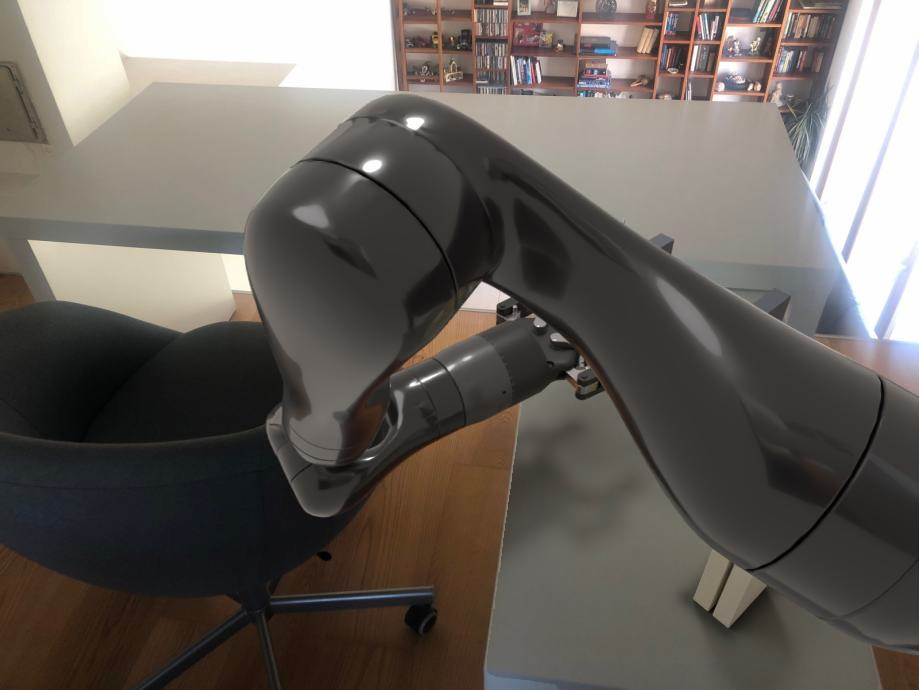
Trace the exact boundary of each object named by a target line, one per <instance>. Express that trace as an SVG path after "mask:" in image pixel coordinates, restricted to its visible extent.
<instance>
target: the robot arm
mask: <svg viewBox="0 0 919 690" xmlns="http://www.w3.org/2000/svg"><path fill="white" fill-rule="evenodd" d="M649 240H650V239H647V238H646V237H645V236H643V235H641V234H640V233H638V232H637V231H635V230H634V229H632V228H631V227H629V226H628V225H627V224H626V223H625V224H624V223H623V221H620V220H619V219H618V218H617V217H615V216H613V215H612V214H611V213H609V212H608V211H606V210H605V209H604V208H602V207H601V206H600V205H598V204H597V203H595V202H594V201H592V200H591V199H589V197H586V195H584V194H583V193H581V192H580V191H578V190H577V189H576V188H575V187H573V186H571V185H570V184H568V183H567V182H565V180H563V179H561V178H560V177H559V176H558V175H556V174H555V173H554V172H552V171H550V170H549V169H548V168H546V167H545V166H544V165H542V164H540V163H539V162H538V161H536V160H535V159H533V158H532V157H531V156H529V155H528V154H527V153H525V152H524V151H522V150H521V149H519V148H518V147H517V146H515V145H514V144H512V143H511V142H510V141H508V140H507V139H505V138H504V137H503V136H502V135H499V134H498V133H496V132H494V131H493V130H491V129H490V128H488V127H487V126H485V125H484V124H483V123H480V122H479V121H477V120H476V119H474V118H472V117H471V116H469V115H467V114H465V113H463V112H462V111H460V110H458V109H456V108H454V107H452V106H450V105H448V104H445V103H443V102H441V101H438V100H437V99H436V100H435V99H432V98H429V97H424V96H421V95H418V94H414V93H389V94H385V95H381V96H379V97H377V98H374V99H372V100H371V101H369V102H368V103H365V104H364V105H362V106H360V107H359V108H357V110H355V111H354V112H352V113H351V114H350V115H349V116H347V117H346V118H345V119H343V120H342V121H341V122H340V123H339V124H338V125H337V126H336V128H334V129H332V131H330V133H328V134H327V135H326V136H325V137H324V138H322V139H321V140H320V141H319V142H318V143H316V145H314V146H313V147H312V148H311V149H309V151H308V152H307V153H305V154H304V155H303V156H301V158H300V159H298V160H297V161H296V162H295V163H294V164H293V165H292V166H289V167H288V168H287V169H286V170H285V171H284V172H283V173H282V174H281V175H280V176H278V177H277V178H276V179H275V180H274V181H272V183H271V184H270V185H269V186H268V187H267V188H266V189H265V190H264V192H263V193H262V194H261V195H260V196H259V198H258V199H257V200H256V202H255V203H254V205H253V206H252V208H251V209H250V211H249V213H248V215H247V218H246V222H245V225H244V230H243V238H242V245H243V249H242V250H243V258H244V259H243V260H244V266H245V267H244V268H245V272H246V276H247V281H248V285H249V289H250V291H251V295H252V298H253V301H254V304H255V307H256V310H257V313H258V315H259V319H260V321H261V324H262V328H263V330H264V333H265V336H266V339H267V342H268V345H269V347H270V350H271V353H272V356H273V358H274V361H275V363H276V365H277V368H278V370H279V374H280V376H281V378H282V382H283V391H282V400H281V402H279V403H278V404H277V405H275V406H274V407H273V408H272V409H271V411H270V412H268V414H267V416H266V418H265V422H264V423H265V424H264V426H265V433H266V435H267V440H268V443H269V445H270V447H271V450H272V451H273V453H274V455H275V456H276V457H275V458H277V461H278V463H279V465H280V467H281V469H282V471H283V473H284V475H285V478H286V479H287V482H288V483H289V485H290V488H291V490H292V492H293V494H294V497H295V499H296V500H297V502H298V505H300V507H301V508H302V510H303V511H304V512H305V513H306V514H309V515H311V516H314V517H319V518H332V517H337V516H340V515H343V514H346V513H347V512H348V511H350V510H352V509H353V508H354V507H356V506H357V505H358V504H359V503H360V502H362V501H363V500H364V499H365V498H366V497H367V496H368V495H369V494H370V493H371V492H372V491H373V490H374V489H375V488H377V487H378V486H379V485H380V484H381V483H382V482H383V481H384V480H385V479H386V478H387V477H388V476H389V475H390V474H392V472H394V470H396V469H397V468H398V467H400V466H401V465H402V464H403V463H405V462H406V461H407V460H409V459H410V458H411V457H412V456H415V454H418V453H419V452H420V451H421V450H423V449H425V448H427V447H428V446H430V445H433V444H434V443H436V442H438V441H440V440H443V439H445V438H446V437H448V436H450V435H452V434H454V433H457V432H458V431H460V430H462V429H465V428H467V427H469V426H472V425H476V424H479V423H482V422H484V421H486V420H489V419H491V418H493V417H494V416H497V415H499V414H501V413H502V412H504V411H507V410H508V409H510V408H513V407H514V406H516V405H519V404H520V403H522V402H525V400H526V401H527V400H529V399H530V398H533V397H534V396H536V395H539V394H540V393H542V392H543V391H544V390H545V389H547V387H548V386H549V385H550V384H552V383H554V382H558V381H565V380H566V381H567V382H568V383H569V384H570V385H571V386H572V387H573V388H574V389H575V392H574V398H575V399H577V400H579V401H585V400H588V399H590V398H591V397H594V396H596V395H599V394H601V393H603V392H606V394H607V396H608V397H609V399H610V400H611V402H612V404H613V406H614V407H615V409H616V411H617V413H618V415H619V417H620V419H621V420H622V422H623V424H624V425H625V427H626V429H627V431H628V433H629V434H630V436H631V438H632V440H633V442H634V444H635V446H636V447H637V449H638V451H639V454H640V455H641V457H642V458H643V460H644V462H645V463H646V465H647V467H648V468H649V470H650V472H651V473H652V475H653V477H654V479H655V480H656V482H657V484H658V485H659V487H660V488H661V490H662V492H663V493H664V495H665V496H666V498H667V499H668V500H669V502H670V504H671V505H672V506H673V509H674V510H675V511H676V512H677V513H678V515H679V516H680V518H681V519H682V520H683V521H684V523H685V524H686V525H687V526H688V527H689V528H690V530H692V531H693V533H694V534H695V535H696V536H697V537H698V538H699V539H701V540H702V541H703V542H704V543H705V544H706V545H707V546H708V547H710V548H711V550H712V549H714V550H715V551H716V552H718V553H719V554H721V555H722V556H723V557H725V558H726V559H728V560H729V561H731V562H732V563H733V564H735V565H736V566H738V567H739V568H741V569H743V570H744V571H746V572H748V573H749V574H751V575H752V576H754V577H755V578H757V579H758V580H760V581H762V582H763V583H765V584H766V585H767V586H768V587H770V588H771V589H773V590H774V591H776V592H777V593H778V594H780V595H782V596H783V597H785V598H786V599H788V600H790V601H791V602H793V603H794V604H796V605H797V606H799V607H800V608H802V609H804V610H805V611H806V612H808V613H810V614H811V615H813V616H814V617H815V618H817V619H818V620H821V621H822V622H824V623H826V624H828V625H829V626H830V627H831V628H834V629H836V630H837V631H840V632H841V633H843V634H844V635H846V636H848V637H850V638H852V639H855V640H857V641H858V642H862V644H863V643H864V644H867V645H870V646H873V647H877V648H880V649H884V650H888V651H892V652H898V653H902V654H906V655H913V656H919V395H917V394H915V393H913V392H912V391H910V390H908V389H907V388H905V387H903V386H901V385H899V384H898V383H895V382H894V381H893V380H891V379H889V378H887V377H886V376H883V375H882V374H880V373H878V372H876V371H875V370H873V369H872V368H870V367H868V366H866V365H864V364H862V363H860V362H858V361H856V360H854V359H853V358H850V357H849V356H848V355H845V354H843V353H841V352H839V351H837V350H835V349H833V348H831V347H829V346H827V345H825V344H824V343H821V342H820V341H818V340H816V339H814V338H812V337H810V336H808V335H807V334H805V333H803V332H801V331H800V330H798V329H796V328H794V327H792V326H790V325H789V324H787V323H785V322H783V320H782V321H780V320H778V319H777V318H775V317H773V316H772V315H770V314H768V313H767V312H765V311H763V310H762V309H760V308H758V307H757V306H755V305H753V303H751V301H748V300H747V299H745V298H744V297H742V296H740V295H739V294H737V293H735V292H734V291H732V290H731V289H729V288H727V287H726V286H724V285H722V284H720V283H719V282H717V281H716V280H714V279H713V278H711V277H709V276H707V275H706V274H704V273H702V272H701V271H699V270H697V269H696V268H694V267H693V266H691V265H689V264H687V263H686V262H684V261H682V260H681V259H679V258H677V257H676V256H674V255H673V254H672V253H671V254H669V253H668V252H666V251H665V250H663V249H661V248H660V247H658V246H657V245H655V244H653V243H652V242H650V241H649ZM481 283H484V284H486V285H488V286H490V287H492V288H494V289H496V290H498V291H499V292H501V293H503V294H504V295H506V296H508V298H506V299H504V300H502V301H500V302H498V303H497V304H496V305H495V307H496V308H495V310H496V311H495V325H494V326H491V327H489V328H487V329H485V330H483V331H480V332H477V333H475V334H473V335H471V336H469V337H466V338H465V339H464V338H463V339H462V340H460V341H457V342H455V343H453V344H451V345H449V346H447V347H445V348H443V349H441V350H440V351H438V352H436V354H435V353H434V355H432V356H430V357H428V358H426V359H423V360H421V361H419V362H417V363H415V364H414V363H413V364H412V365H410V366H408V367H405V368H403V369H401V368H402V367H403V366H404V365H405V364H406V363H407V362H408V361H410V359H412V358H413V357H414V356H415V355H417V354H418V353H420V351H422V350H423V349H424V348H426V346H428V345H429V344H430V343H432V342H433V341H434V340H435V339H436V338H437V337H438V336H439V335H440V333H441V332H442V331H443V330H444V329H445V328H446V326H447V325H448V324H449V323H450V322H451V320H452V319H453V318H454V317H455V316H456V315H457V313H458V312H459V311H460V310H461V308H462V307H463V306H464V304H465V303H466V302H467V301H468V299H469V298H470V297H471V296H472V294H473V293H474V292H475V291H476V289H477V288H478V287H479V286H480V285H481ZM533 314H534V315H535V317H530V316H531V315H533ZM581 357H582V358H581ZM380 430H381V440H380V441H379V442H378V443H377V444H375V445H374V446H372V445H373V443H374V441H375V439H376V437H377V435H378V433H379V431H380ZM371 446H372V447H371Z"/></svg>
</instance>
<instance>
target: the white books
mask: <svg viewBox="0 0 919 690" xmlns="http://www.w3.org/2000/svg"><path fill="white" fill-rule="evenodd" d="M767 586H768V585H766V584H765V583H763V582H762V581H760V580H758V579H757V578H755V577H754V576H752V575H751V574H749V573H748V572H746V571H744V570H743V569H741V568H739V567H738V566H736V565H735V564H733V563H732V562H731V561H729V560H728V559H726V558H725V557H723V556H722V555H721V554H719V553H718V552H716V551H715V550H714V549H712V548H711V552H710V553H709V557H708V559H707V562H706V565H705V567H704V570H703V571H702V575H701V578H700V580H699V583H698V585H697V588H696V589H695V593H694V595H693V598H692V600H693V601H695V602H696V603H697V604H698V605H699V606H701V607H702V608H703V609H704V610H705V611H707V612H710V610H712V608H713V607H714V606H715V605H716V606H715V608H714V610H713V613H712V617H713V618H715V619H716V620H717V621H718V622H720V623H721V624H722V625H723V626H725V627H726V628H727V629H729V628H730V627H731V626H732V625H733V624H734V623H735V622H736V621H737V620H738V618H739V617H740V616H741V615H742V614H743V613H744V612H745V611H746V610H747V609H748V607H750V605H751V604H752V603H753V602H754V601H755V600H756V599H757V598H758V597H759V595H760V594H761V593H762V592H763V591H764V590H765V589H766V588H767Z"/></svg>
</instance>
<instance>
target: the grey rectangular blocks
mask: <svg viewBox="0 0 919 690" xmlns="http://www.w3.org/2000/svg"><path fill="white" fill-rule="evenodd" d="M648 240H649V241H650V242H652V243H653V244H655V245H657V246H658V247H660V248H661V249H663V250H665V251H666V252H668V253H669V254H671V255H672V253H673V249H674V243H675V239H674V238H672V237H670V236H668V235H666V234H664V233H661V232H660V233H659V234H657V235H655V236H654V237H652V238H650V239H648ZM791 298H792V295H791V294H789V293H787V292H785V291H783V290H780V289H779V288H776V287H773V288H772V289H770V290H769V291H768V292H766V293H765V294H764V295H762V296H761V297H760V298H758V299H757V300H755V301H754V302H753V303H752V304H753V305H755V306H757V307H758V308H760V309H762V310H763V311H765V312H767V313H768V314H770V315H772V316H773V317H775V318H777V319H778V320H780V321H782V322H783V320H784V318H785V315H786V311H787V309H788V306H789V304H790V301H791Z"/></svg>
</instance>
